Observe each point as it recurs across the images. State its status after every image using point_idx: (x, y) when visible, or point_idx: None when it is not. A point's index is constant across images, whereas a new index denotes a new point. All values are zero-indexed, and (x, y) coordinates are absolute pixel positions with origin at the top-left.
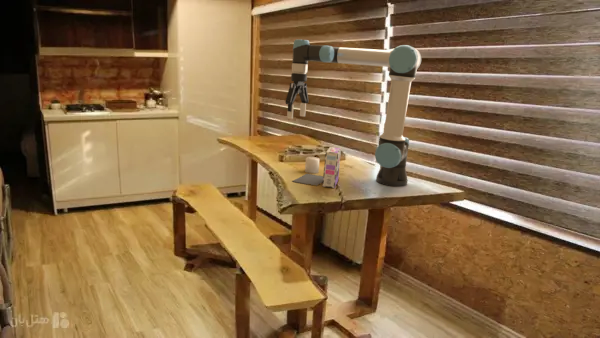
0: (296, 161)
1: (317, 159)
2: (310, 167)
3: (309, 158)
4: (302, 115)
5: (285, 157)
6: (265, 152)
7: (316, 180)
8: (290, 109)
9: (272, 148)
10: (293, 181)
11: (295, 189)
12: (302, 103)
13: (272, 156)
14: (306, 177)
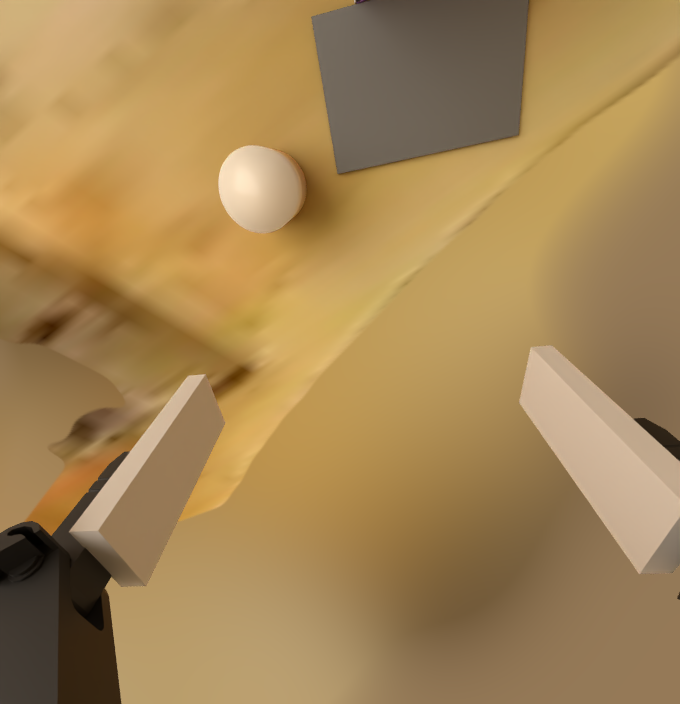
0: (190, 337)
1: (256, 153)
2: (300, 177)
3: (276, 204)
4: (211, 402)
5: None
6: None
7: (427, 35)
8: (673, 443)
9: None
10: (518, 127)
11: (656, 19)
12: (132, 560)
13: None
14: (408, 124)
